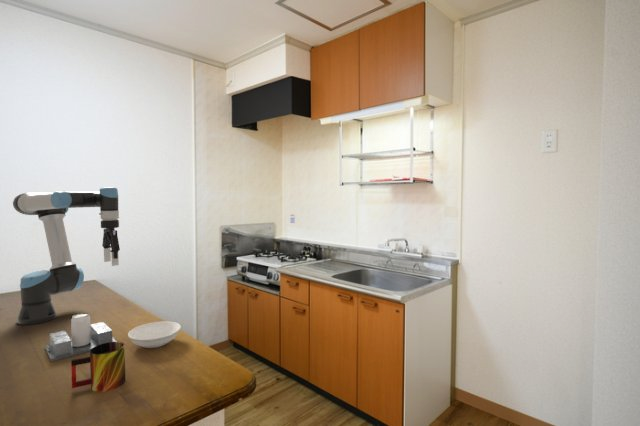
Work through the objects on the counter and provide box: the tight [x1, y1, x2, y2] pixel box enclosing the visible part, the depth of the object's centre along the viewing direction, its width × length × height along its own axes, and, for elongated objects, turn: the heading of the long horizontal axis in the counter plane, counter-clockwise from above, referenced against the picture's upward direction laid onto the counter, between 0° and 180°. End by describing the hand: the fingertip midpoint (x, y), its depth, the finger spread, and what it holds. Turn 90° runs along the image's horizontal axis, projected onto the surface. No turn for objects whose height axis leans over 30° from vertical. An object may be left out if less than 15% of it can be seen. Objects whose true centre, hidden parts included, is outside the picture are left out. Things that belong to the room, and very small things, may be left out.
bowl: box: [127, 320, 182, 349], centre depth 145 cm, size 20×20×6 cm
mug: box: [70, 341, 126, 393], centre depth 114 cm, size 10×14×12 cm
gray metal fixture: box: [44, 321, 118, 362], centre depth 144 cm, size 16×22×6 cm
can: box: [70, 312, 91, 347], centre depth 144 cm, size 6×6×12 cm
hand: (111, 263), depth 170 cm, fingers open, 13 cm apart
